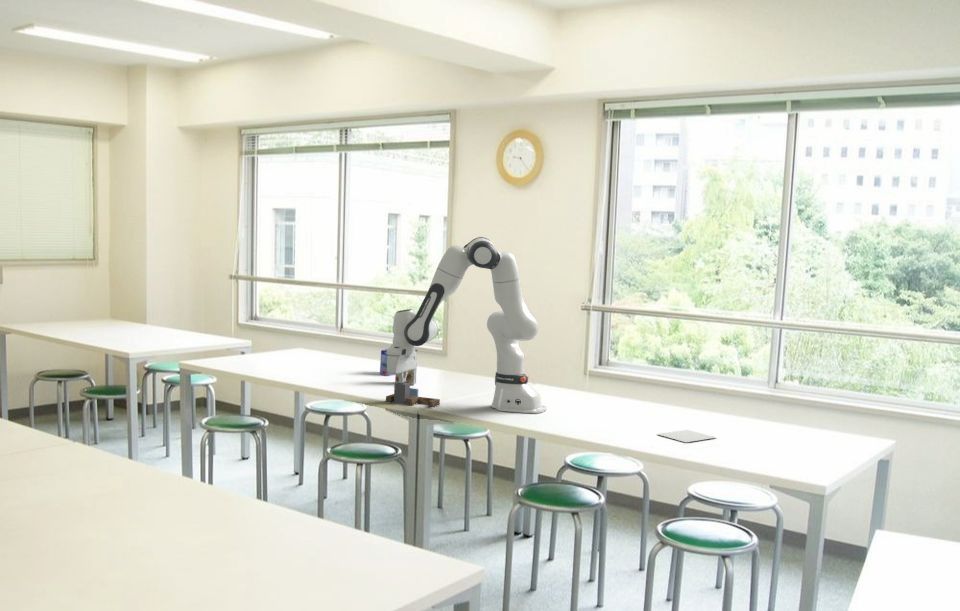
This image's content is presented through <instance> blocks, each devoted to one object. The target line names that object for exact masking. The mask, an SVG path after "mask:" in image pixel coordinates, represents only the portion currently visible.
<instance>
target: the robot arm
mask: <svg viewBox="0 0 960 611" xmlns="http://www.w3.org/2000/svg"><path fill="white" fill-rule="evenodd" d="M472 265H473V266H475V267H477V268H480V269H486V270H490V272H491V280H492V285H493V295H494V300H495V302H496V303H497V304H498V305H499V307H500V308H501V311H500V310H499V311H496V312H491V314H490V315H489V316H488V317H487V320H486V321H487V322H486V328H487V330H488V332H489V333H490V334H491V336H492V339H493V341H494V345H495V350H496V371H495V377H494V385H495V388H494V394H493V398H492V402H491V408H493V409H496V411H499V412H510V413H511V412H512V413H520V414H521V413H525V414H540V413H544V412H546V410H547V406H546V405H542V399H541V395H540V393H539V392H538V391H537V390H536V389H535V388H534V387H533V386H531V385H530V384H529V383H528V382H529V378H530V377H529V375H527V374H525V373H524V372H525V370H524V369H525V354H524V352H523V350H521V348H520V345H519V342H526V341H531V340H534V338H535V337H536V336H537V334H538V332H539V324H538V321H537V320H536V318H534V316H533V315H532V314H531V312H530V311H529V308H528V307H527V305H526V302H525V300H524V297H523V290H522V285H521V277H520V272H519V271H520V270H519V267H518V263H517V260H516V258H515V256H514V254H513V253H511V252H509V251H501V252H500V251H498V249H496V247H495V245H494V243H493V242H492V241H491V240H490V239H489V238H487V237H483V236H478V237H476V238H474V239H472V240H470V241H469V242H468V243H467V244H465V245H464V246H463V247H462V246H459V245H451V246H449V247H448V248H447V249H446V251H445V253H443V256H442V257H441V259H440V261H439V263H438V265H437V268H436V270H435V272H434V275H433V277H432V281H431V283H430V285H429V288H428V290H427V293H426V294H425V296H424V298H423V300H422V303H421V304H420V307H419V309H418V311H417V312H415V310H414V309H411V308H409V309H402V310H398V311H396V312H395V313H394V316H393V323H392V332H393V338H392V344H391V345H390V346H389V348H387V355H388V357H387V371H388V374H397V375H398V378H399V383H403V382H406V377H407V374H408V371H409V370H412V369H416V368H417V367H418V352H417V353H416V352H415V347H420V346H423V345H424V344H426V343H429V342H430V341H433V340H434V339H436V337H437V335H438V331H439V327H438V324H437V323H436V322H435V320H433V318H434V317H435V314H436V311H437V310H438V308H439V306H440V304H442V303H443V301H444V300H446V299H447V298H448V297H449V296H451V295H452V294H455V292H456V291H457V290H458V288H459V286H460V285H461V283H462V281H463V279H464V277H465V274H466V271H467V270H468V269H469V267H471V266H472ZM416 370H417V369H416Z"/></svg>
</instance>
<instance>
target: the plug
mask: <svg viewBox="0 0 960 611" xmlns="http://www.w3.org/2000/svg"><path fill="white" fill-rule="evenodd" d="M393 388H394V389H393V394H394V402H393V403H394V404H400V405H401V404H402V405H406V398H409V397H410V388H411V385H410V383H399V382H398V383H395V382H394V386H393Z"/></svg>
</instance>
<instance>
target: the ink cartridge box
mask: <svg viewBox="0 0 960 611" xmlns="http://www.w3.org/2000/svg"><path fill="white" fill-rule="evenodd" d="M387 349H388V348H387ZM387 349H381V351H380V361H379V362H380V363H379V375H381V376H386V377H388V376H389V377H390V376H395V374H388V371H387V357H388V355H387Z"/></svg>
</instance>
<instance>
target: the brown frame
mask: <svg viewBox="0 0 960 611" xmlns="http://www.w3.org/2000/svg"><path fill="white" fill-rule="evenodd" d="M440 402H441V399H439V398H433V397H424V396H419V388H411V387H410V397H409V398H406V404H405V406H412V407H413V406H415V405H417V404H416V403H418V404H421V403H426V404H425V405H427V408H428V407H434V408H436V407H438V406H437V405H439V406H440ZM385 403H388V404H391V403H394V393H391V394H388V395H386V396H385ZM414 404H415V405H414ZM435 406H436V407H435Z"/></svg>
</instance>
